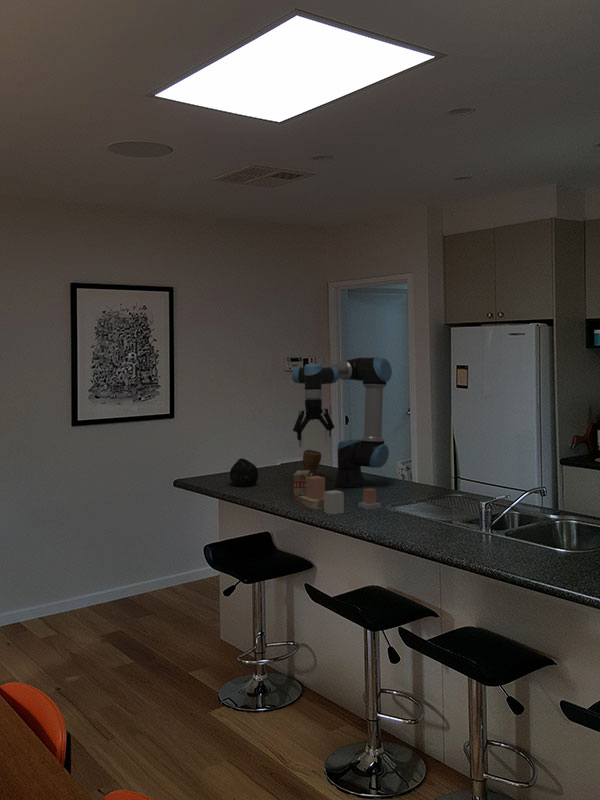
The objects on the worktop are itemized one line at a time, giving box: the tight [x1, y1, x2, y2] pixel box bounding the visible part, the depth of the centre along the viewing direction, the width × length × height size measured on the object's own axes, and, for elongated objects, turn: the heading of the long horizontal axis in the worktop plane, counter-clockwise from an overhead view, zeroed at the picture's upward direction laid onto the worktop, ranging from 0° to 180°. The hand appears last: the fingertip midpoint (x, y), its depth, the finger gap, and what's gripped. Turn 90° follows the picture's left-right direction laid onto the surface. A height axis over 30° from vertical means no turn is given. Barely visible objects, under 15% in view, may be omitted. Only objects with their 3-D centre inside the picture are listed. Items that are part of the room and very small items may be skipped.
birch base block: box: [296, 496, 324, 511], centre depth 332 cm, size 12×12×4 cm
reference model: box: [358, 487, 382, 511], centre depth 329 cm, size 7×7×8 cm
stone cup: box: [294, 449, 322, 476], centre depth 409 cm, size 15×12×15 cm
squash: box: [229, 458, 259, 487], centre depth 387 cm, size 14×15×15 cm
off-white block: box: [323, 489, 345, 515], centre depth 319 cm, size 6×6×9 cm
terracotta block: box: [306, 475, 326, 500], centre depth 332 cm, size 6×6×9 cm
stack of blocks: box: [292, 469, 313, 501], centre depth 357 cm, size 21×6×12 cm, turn 171°
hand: (314, 446), depth 339 cm, fingers open, 13 cm apart
